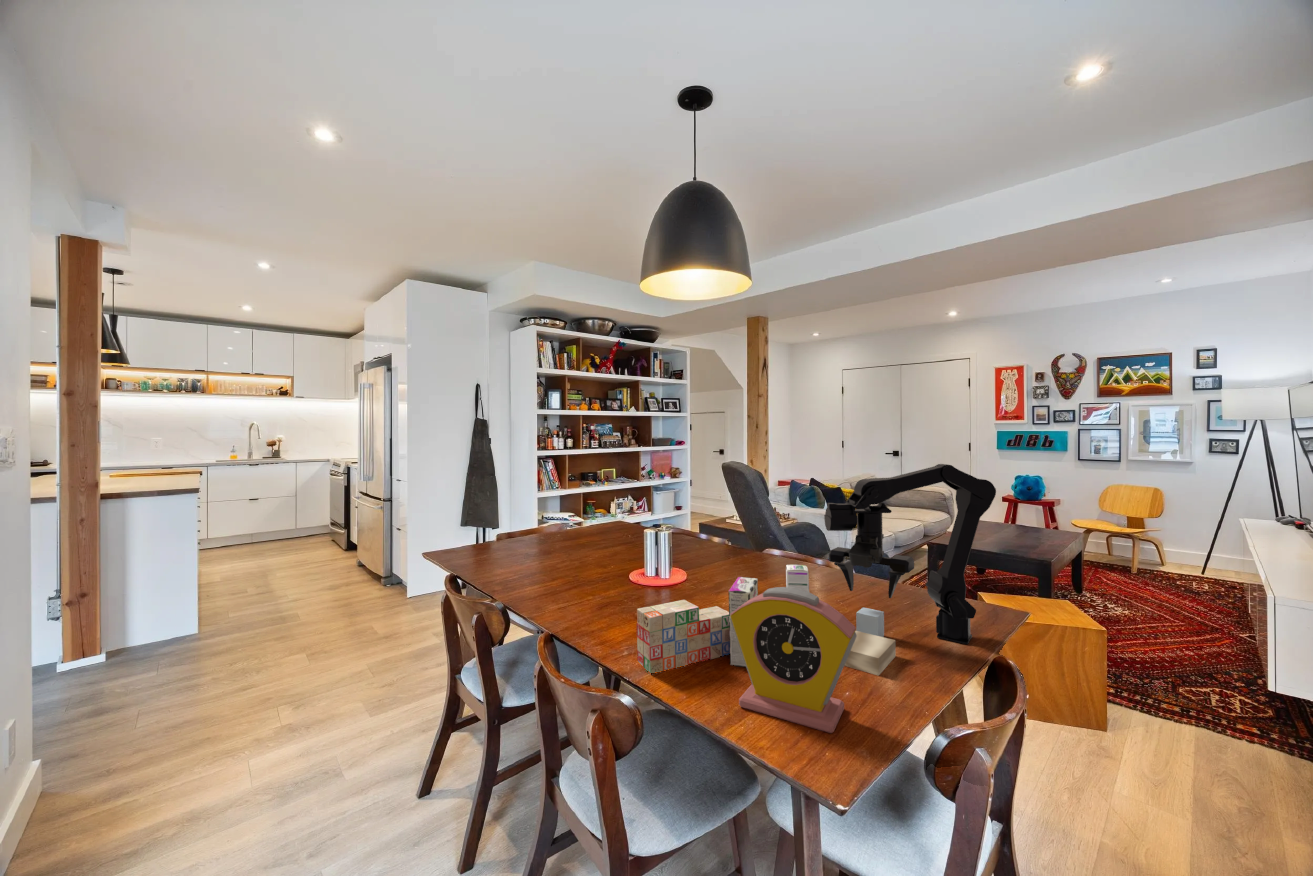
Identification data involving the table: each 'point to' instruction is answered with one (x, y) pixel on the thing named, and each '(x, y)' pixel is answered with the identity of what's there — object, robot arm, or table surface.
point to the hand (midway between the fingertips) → (870, 594)
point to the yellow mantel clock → (793, 656)
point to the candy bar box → (737, 597)
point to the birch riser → (871, 653)
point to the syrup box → (797, 577)
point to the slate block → (870, 621)
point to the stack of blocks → (680, 635)
